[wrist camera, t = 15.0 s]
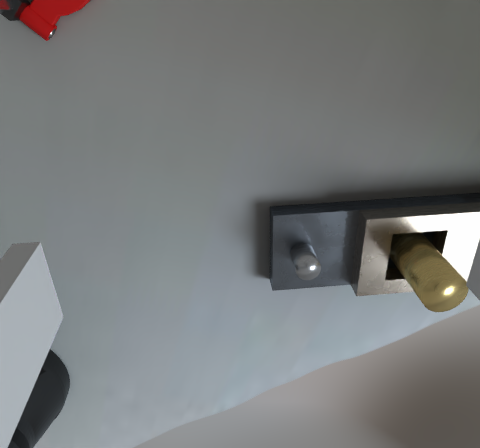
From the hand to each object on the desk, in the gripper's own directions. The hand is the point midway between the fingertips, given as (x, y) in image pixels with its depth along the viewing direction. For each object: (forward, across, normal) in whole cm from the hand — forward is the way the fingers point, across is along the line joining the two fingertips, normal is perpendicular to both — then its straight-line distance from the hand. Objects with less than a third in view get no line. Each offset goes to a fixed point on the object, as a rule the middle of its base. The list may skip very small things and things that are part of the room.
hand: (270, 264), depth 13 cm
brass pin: (+27, -18, +16) cm, 36 cm away
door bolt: (+27, -18, +16) cm, 36 cm away
